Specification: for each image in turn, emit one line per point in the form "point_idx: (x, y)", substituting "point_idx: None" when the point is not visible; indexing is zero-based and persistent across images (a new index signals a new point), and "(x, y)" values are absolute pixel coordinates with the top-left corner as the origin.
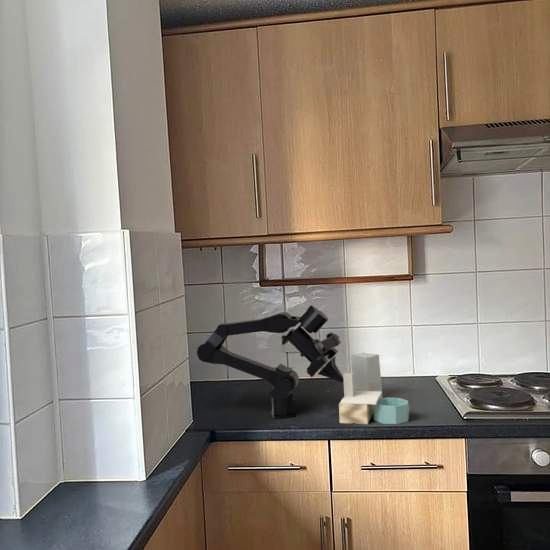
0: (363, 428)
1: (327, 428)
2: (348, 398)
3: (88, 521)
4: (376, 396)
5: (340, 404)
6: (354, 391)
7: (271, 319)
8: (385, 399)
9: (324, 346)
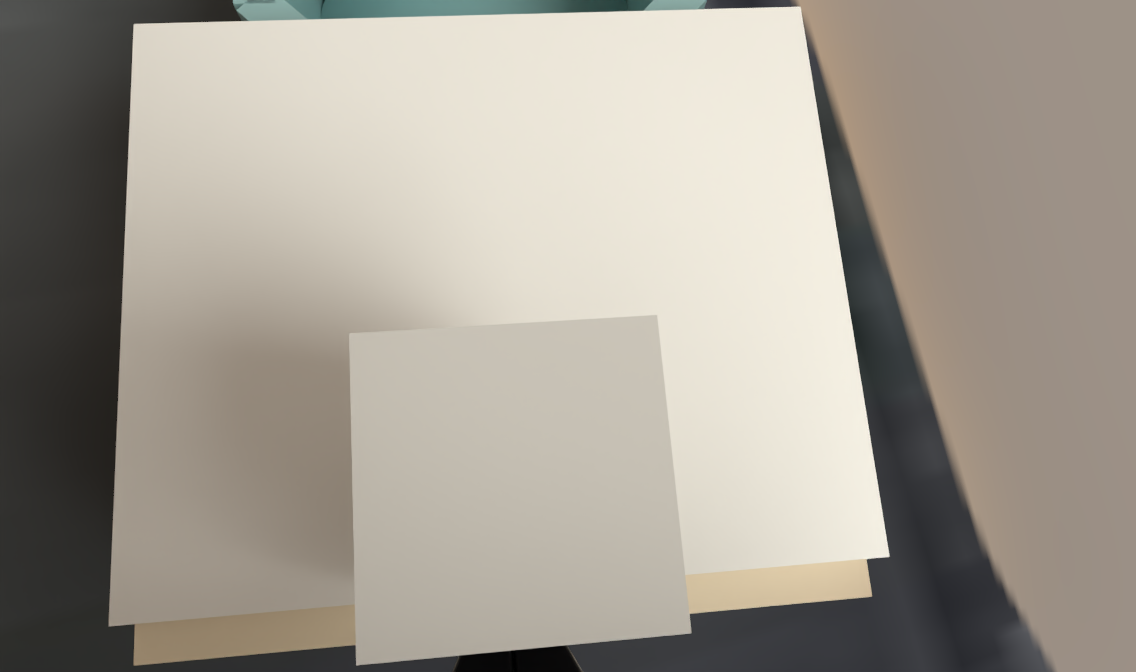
0: (880, 265)
1: (1010, 659)
2: (717, 465)
3: None
4: (491, 50)
5: (863, 566)
6: (174, 491)
7: None
8: (295, 16)
9: None
